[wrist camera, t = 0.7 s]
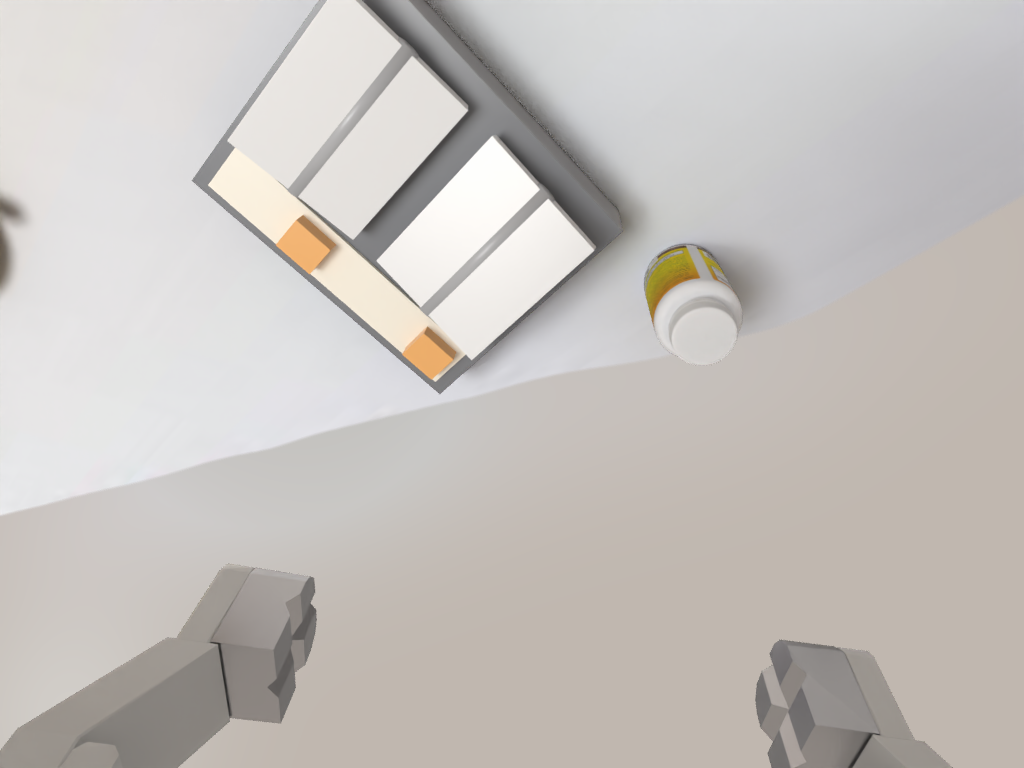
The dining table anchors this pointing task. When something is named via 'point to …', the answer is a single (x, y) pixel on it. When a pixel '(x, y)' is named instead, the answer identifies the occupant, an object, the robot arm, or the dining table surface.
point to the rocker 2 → (485, 249)
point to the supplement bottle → (692, 305)
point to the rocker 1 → (348, 116)
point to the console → (405, 198)
